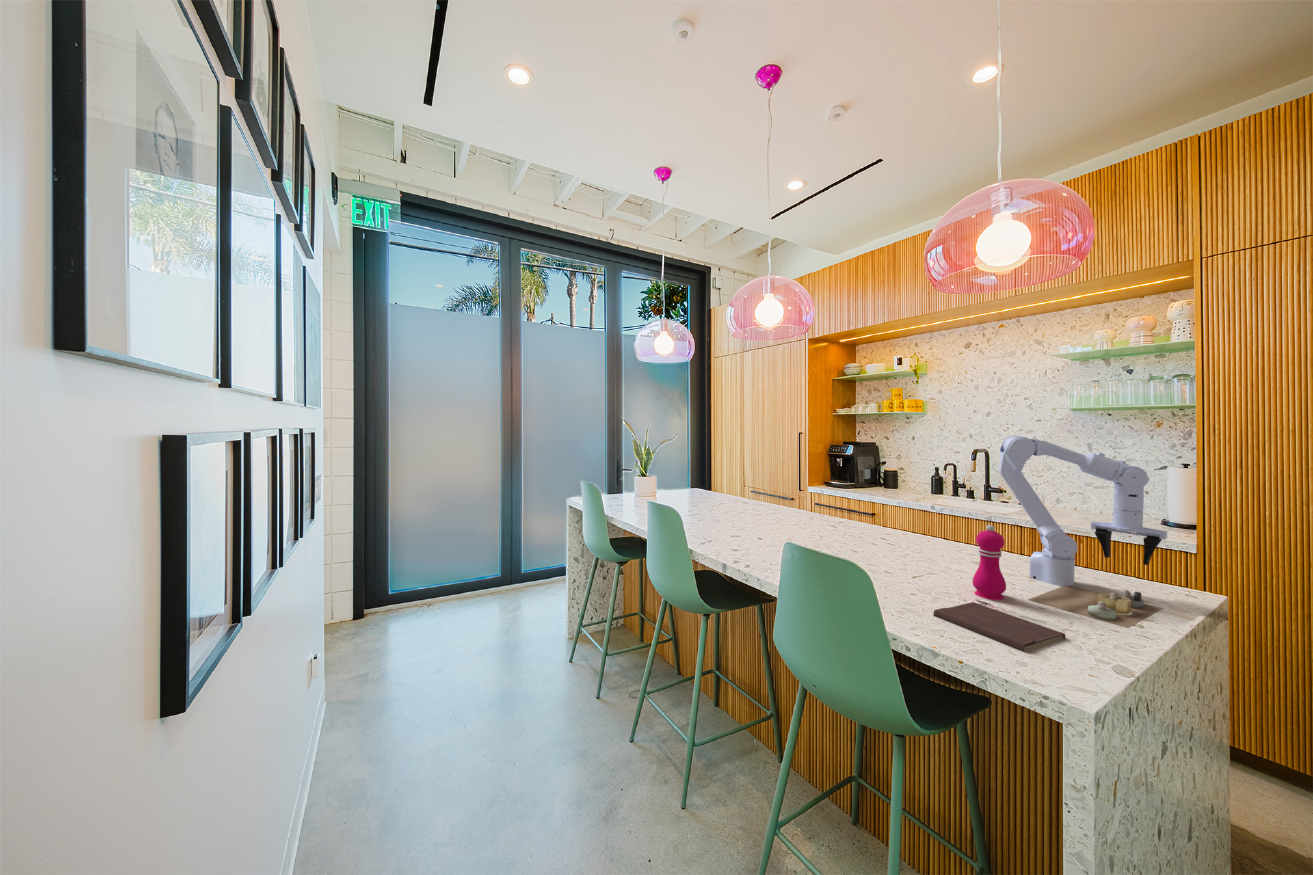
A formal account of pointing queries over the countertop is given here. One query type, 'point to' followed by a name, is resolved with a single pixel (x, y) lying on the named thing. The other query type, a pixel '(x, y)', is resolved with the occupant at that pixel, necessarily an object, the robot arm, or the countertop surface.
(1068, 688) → the countertop surface
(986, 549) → the pepper mill
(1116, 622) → the board
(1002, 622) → the notebook
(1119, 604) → the brass idler gear
